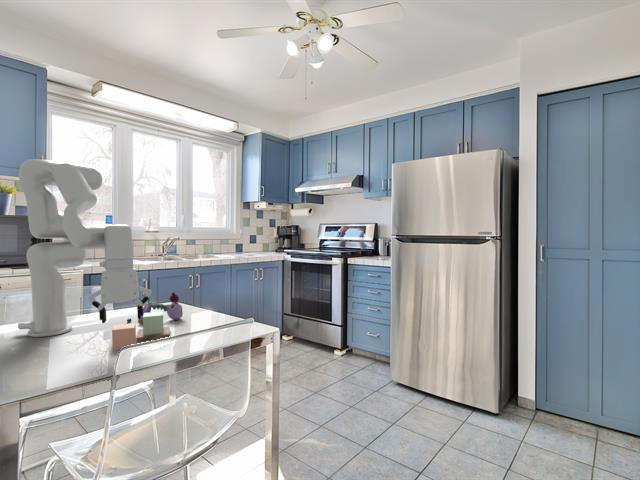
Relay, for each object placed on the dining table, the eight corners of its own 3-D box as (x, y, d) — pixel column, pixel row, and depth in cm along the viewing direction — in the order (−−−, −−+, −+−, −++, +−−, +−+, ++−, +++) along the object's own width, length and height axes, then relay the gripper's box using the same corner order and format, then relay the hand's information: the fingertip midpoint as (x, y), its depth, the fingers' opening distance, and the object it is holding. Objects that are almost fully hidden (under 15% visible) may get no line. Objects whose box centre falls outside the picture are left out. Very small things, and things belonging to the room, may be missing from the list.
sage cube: (143, 335, 119) (142, 317, 119) (144, 330, 125) (143, 313, 125) (163, 333, 122) (162, 315, 122) (163, 328, 127) (163, 311, 127)
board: (136, 342, 117) (136, 337, 117) (138, 333, 126) (138, 329, 126) (170, 338, 121) (169, 333, 121) (169, 330, 130) (169, 326, 130)
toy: (169, 338, 140) (188, 302, 141) (133, 321, 137) (152, 286, 138) (175, 330, 150) (192, 297, 151) (140, 315, 147) (158, 282, 148)
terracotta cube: (112, 349, 111) (112, 329, 110) (114, 343, 116) (114, 325, 116) (134, 346, 113) (134, 327, 113) (135, 341, 118) (135, 322, 118)
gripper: (83, 267, 106) (86, 326, 106) (149, 263, 112) (152, 319, 113) (89, 265, 113) (92, 321, 113) (150, 262, 119) (153, 314, 120)
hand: (122, 320), depth 113 cm, fingers open, 9 cm apart
